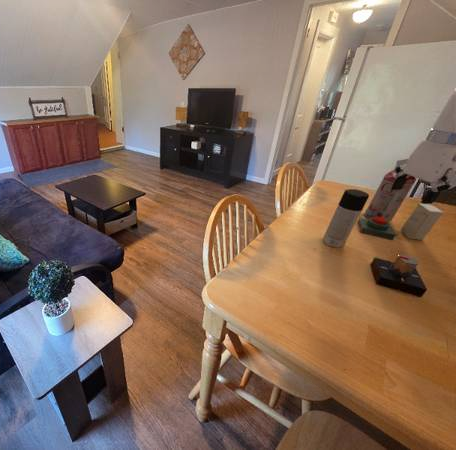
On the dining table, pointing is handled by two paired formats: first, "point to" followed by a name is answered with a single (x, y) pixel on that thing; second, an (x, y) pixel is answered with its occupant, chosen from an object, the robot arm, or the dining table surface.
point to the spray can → (345, 217)
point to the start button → (380, 220)
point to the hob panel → (397, 278)
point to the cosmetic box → (421, 221)
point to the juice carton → (388, 197)
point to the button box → (376, 228)
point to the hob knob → (403, 265)
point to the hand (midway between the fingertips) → (410, 196)
